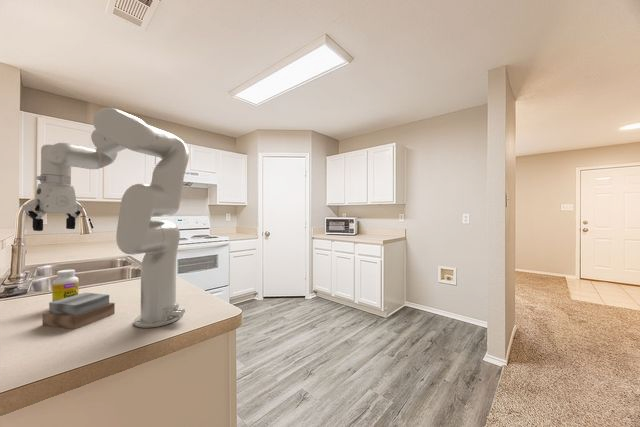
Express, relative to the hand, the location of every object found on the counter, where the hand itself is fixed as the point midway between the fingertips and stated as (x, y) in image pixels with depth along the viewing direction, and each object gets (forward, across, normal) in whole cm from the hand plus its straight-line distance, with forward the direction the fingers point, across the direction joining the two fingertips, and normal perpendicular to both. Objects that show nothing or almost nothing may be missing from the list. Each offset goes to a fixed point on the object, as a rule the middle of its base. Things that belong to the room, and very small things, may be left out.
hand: (55, 229), depth 92 cm
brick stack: (+27, -6, -20) cm, 34 cm away
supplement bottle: (+28, +1, -4) cm, 28 cm away
